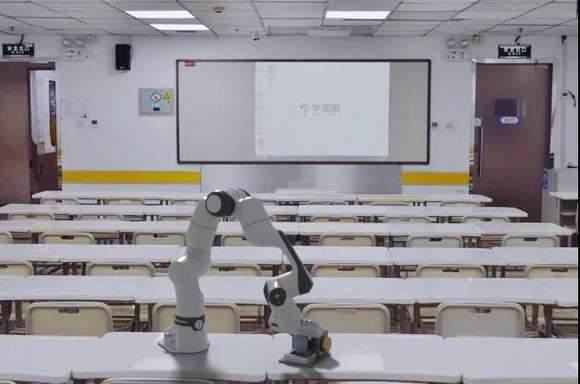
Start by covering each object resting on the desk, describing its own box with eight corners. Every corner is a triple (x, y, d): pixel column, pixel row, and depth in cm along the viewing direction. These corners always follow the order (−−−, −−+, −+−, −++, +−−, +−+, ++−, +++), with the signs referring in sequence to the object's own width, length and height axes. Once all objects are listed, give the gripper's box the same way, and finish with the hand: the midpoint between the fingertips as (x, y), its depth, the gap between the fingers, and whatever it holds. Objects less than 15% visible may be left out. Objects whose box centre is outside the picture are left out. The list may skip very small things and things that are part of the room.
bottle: (292, 351, 290) (292, 320, 288) (301, 348, 293) (301, 318, 292) (301, 354, 286) (301, 323, 285) (310, 351, 289) (310, 321, 288)
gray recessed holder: (278, 362, 289) (278, 332, 287) (298, 349, 305) (299, 320, 303) (313, 368, 282) (314, 337, 281) (332, 354, 298) (333, 325, 297)
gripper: (318, 314, 277) (328, 333, 287) (269, 308, 286) (281, 326, 296) (313, 329, 273) (324, 348, 283) (264, 322, 282) (276, 340, 292)
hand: (301, 337), depth 289 cm, fingers closed on bottle, 5 cm apart
